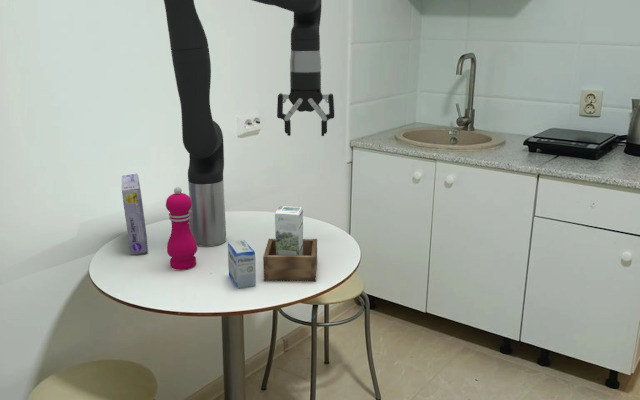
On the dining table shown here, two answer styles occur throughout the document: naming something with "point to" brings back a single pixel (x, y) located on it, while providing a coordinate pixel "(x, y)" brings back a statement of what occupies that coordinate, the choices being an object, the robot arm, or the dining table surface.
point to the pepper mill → (180, 232)
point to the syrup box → (289, 231)
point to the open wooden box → (290, 263)
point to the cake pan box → (134, 214)
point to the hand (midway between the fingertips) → (306, 135)
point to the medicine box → (241, 264)
